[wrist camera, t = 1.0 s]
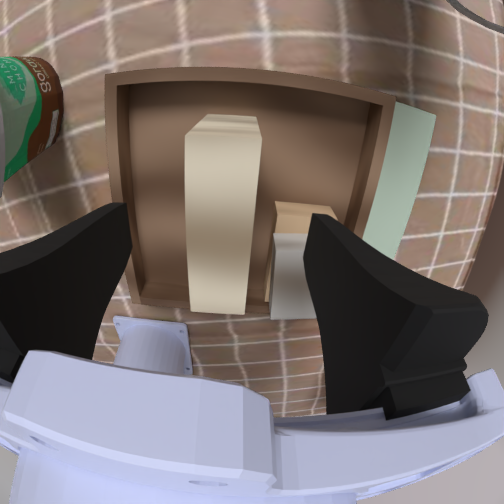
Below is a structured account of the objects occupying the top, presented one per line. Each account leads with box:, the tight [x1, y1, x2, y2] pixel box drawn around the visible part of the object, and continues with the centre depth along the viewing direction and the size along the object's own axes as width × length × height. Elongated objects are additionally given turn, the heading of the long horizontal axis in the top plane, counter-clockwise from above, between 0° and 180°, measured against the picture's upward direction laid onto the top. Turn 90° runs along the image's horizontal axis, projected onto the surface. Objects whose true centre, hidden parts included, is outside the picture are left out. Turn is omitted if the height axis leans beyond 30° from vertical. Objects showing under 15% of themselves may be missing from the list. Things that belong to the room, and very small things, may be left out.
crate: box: [105, 67, 396, 313], centre depth 19 cm, size 18×17×3 cm
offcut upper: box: [269, 233, 317, 320], centre depth 20 cm, size 6×4×2 cm, turn 179°
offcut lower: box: [263, 201, 338, 302], centre depth 21 cm, size 8×4×2 cm, turn 175°
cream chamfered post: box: [185, 114, 262, 315], centre depth 16 cm, size 10×3×7 cm, turn 175°
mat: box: [362, 102, 436, 260], centre depth 20 cm, size 13×5×1 cm, turn 175°
